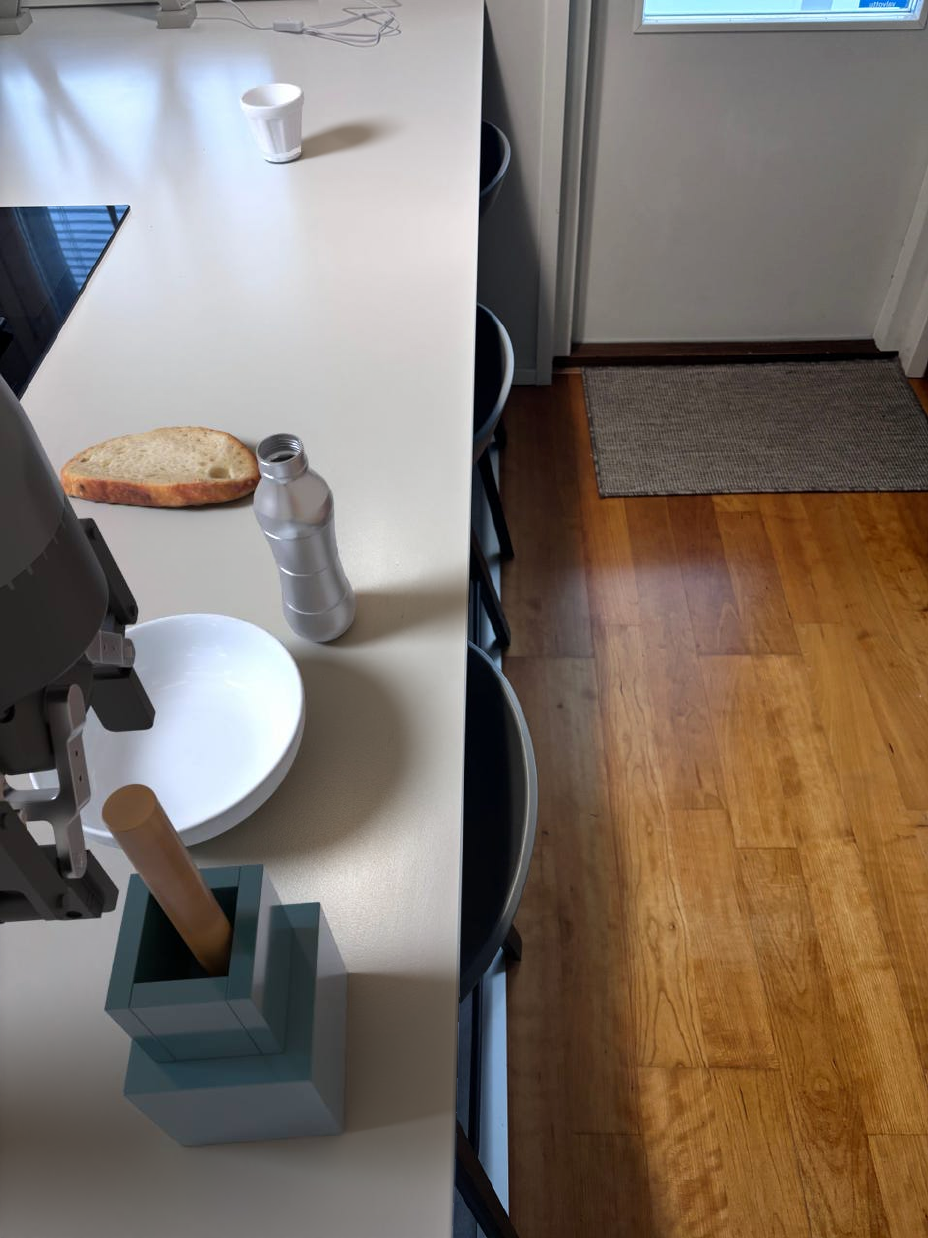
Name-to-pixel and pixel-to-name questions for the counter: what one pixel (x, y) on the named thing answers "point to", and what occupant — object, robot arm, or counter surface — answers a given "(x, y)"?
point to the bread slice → (164, 469)
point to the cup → (275, 118)
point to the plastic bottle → (302, 540)
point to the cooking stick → (170, 874)
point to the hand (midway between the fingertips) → (114, 809)
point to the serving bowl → (199, 726)
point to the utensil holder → (233, 1017)
